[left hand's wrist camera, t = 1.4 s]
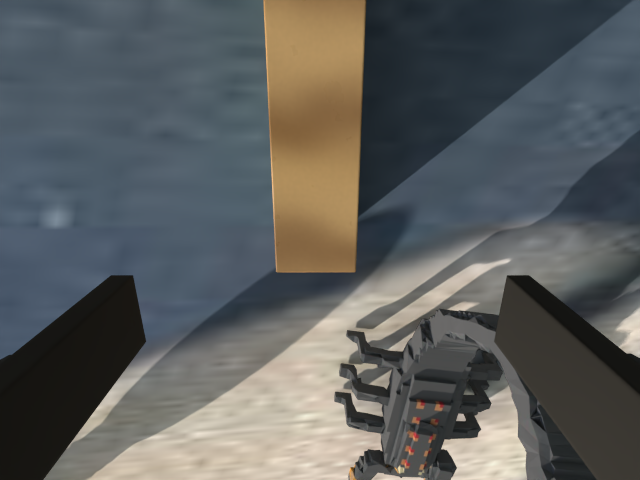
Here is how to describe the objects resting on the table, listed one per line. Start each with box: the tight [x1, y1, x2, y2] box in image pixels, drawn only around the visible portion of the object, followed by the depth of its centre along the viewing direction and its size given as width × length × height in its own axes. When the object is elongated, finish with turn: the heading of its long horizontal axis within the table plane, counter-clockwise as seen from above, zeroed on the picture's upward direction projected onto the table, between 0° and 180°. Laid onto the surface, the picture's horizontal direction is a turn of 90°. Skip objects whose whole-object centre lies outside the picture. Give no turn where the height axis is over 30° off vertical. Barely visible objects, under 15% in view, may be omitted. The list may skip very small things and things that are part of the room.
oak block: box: [264, 0, 366, 272], centre depth 19 cm, size 26×4×8 cm, turn 0°
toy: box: [334, 309, 597, 480], centre depth 24 cm, size 13×27×18 cm, turn 172°
